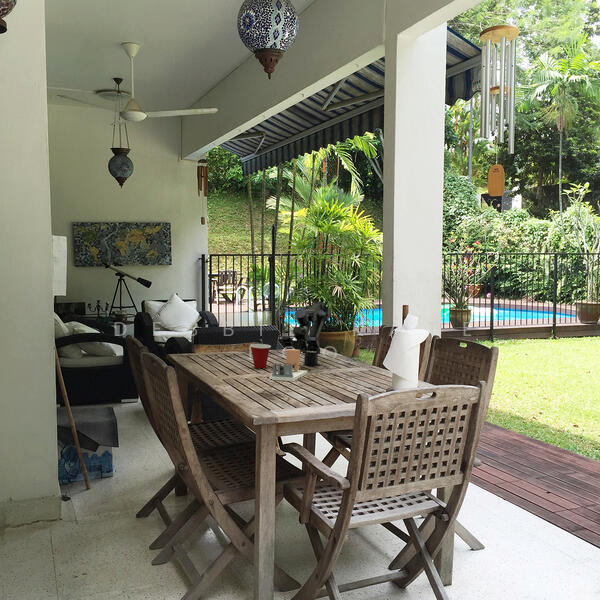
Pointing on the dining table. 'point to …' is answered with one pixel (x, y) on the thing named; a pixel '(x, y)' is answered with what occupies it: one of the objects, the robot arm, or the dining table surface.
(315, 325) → the robot arm
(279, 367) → the connector and comb
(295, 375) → the cord board
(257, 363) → the plastic cup
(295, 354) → the marker sleeve
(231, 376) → the dining table surface
